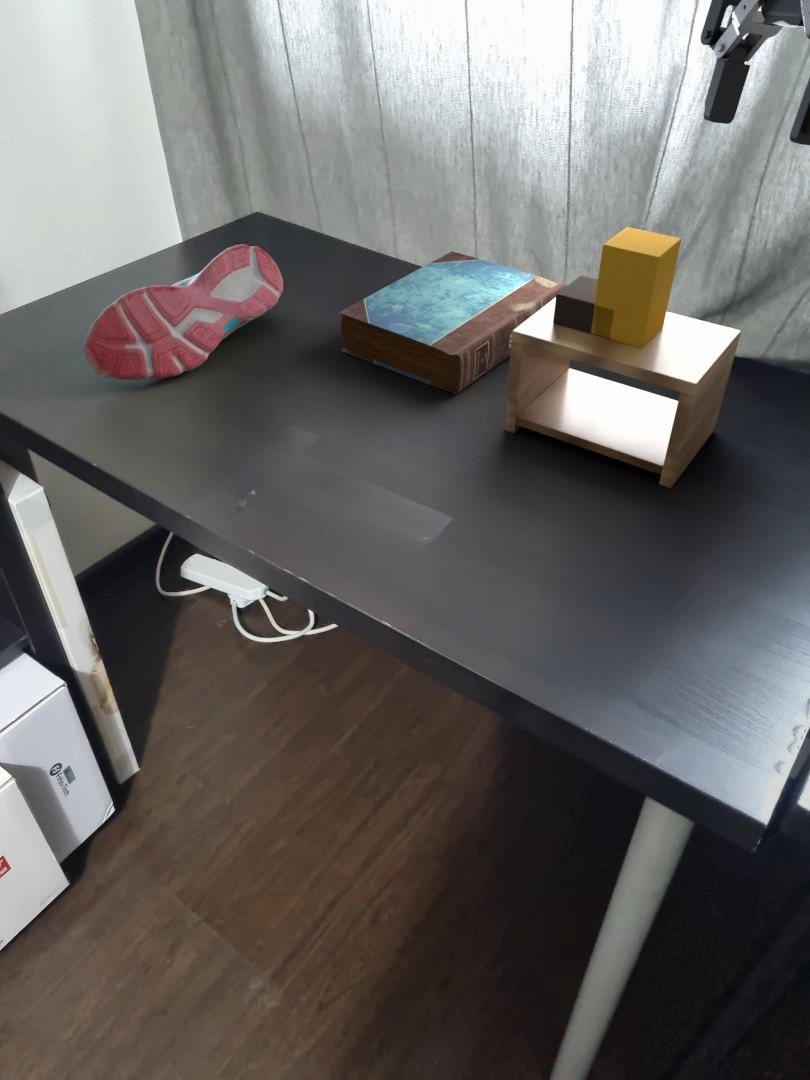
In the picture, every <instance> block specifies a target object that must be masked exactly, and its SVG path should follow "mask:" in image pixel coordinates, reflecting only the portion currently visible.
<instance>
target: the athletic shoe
mask: <svg viewBox="0 0 810 1080" xmlns="http://www.w3.org/2000/svg"><path fill="white" fill-rule="evenodd" d="M283 292H284V280H283V276H282V274H281V271H280V269H279V266H278V264H277V263H276V262H275V260H274V259H273V258H272V257H271V255H270V254H269V253H267V252H266V251H265V250H264V249H262V248H261V247H259V246H257V245H253V246H250V245H248V244H243V243H241V244H236V245H232V246H229V247H227V248H225V249H224V250H223V251H222V252H221V251H220V253H219V254H217V255H216V256H215V257H214V258H213V259H211V260H210V262H208V264H206V265H205V267H204V268H203V269H202V270H201V271H200V272H199V273H196V274H194V275H192V276H190V277H187V278H185V279H182V280H180V281H178V282H175V283H173V284H172V285H171V284H170V285H162V284H155V285H148V286H143V287H139V288H136V289H134V290H131V291H128V292H126V293H124V294H122V295H121V296H120V297H118V298H117V299H116V300H115V301H114V302H111V304H109V305H108V306H106V307H105V308H104V309H103V310H102V312H101V313H99V315H98V316H97V317H96V318H95V319H94V320H93V321H92V322H91V323H92V324H91V325H90V328H89V329H88V330H89V331H88V333H87V335H86V337H85V340H84V344H83V353H84V356H85V359H86V362H87V363H88V365H90V367H91V369H92V371H93V372H94V373H95V374H96V375H97V376H98V377H99V378H101V379H104V380H105V379H114V380H123V381H147V380H152V379H154V380H161V379H166V378H167V379H168V378H172V377H177V376H180V375H181V374H183V373H184V372H190V371H192V370H194V369H196V368H198V367H200V366H201V365H203V364H204V363H205V362H206V361H207V360H208V357H209V355H211V354H212V352H213V351H214V350H216V348H217V347H218V346H219V344H220V343H221V342H222V341H223V340H225V339H227V338H228V336H230V335H231V334H232V333H234V332H235V331H236V330H237V329H239V328H242V327H243V326H244V325H246V324H248V323H250V322H251V321H254V320H256V319H257V318H260V317H262V316H263V315H264V314H265V313H266V312H268V311H269V310H271V309H272V308H273V307H275V306H276V304H277V303H279V299H280V297H281V296H282V294H283Z"/></svg>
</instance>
